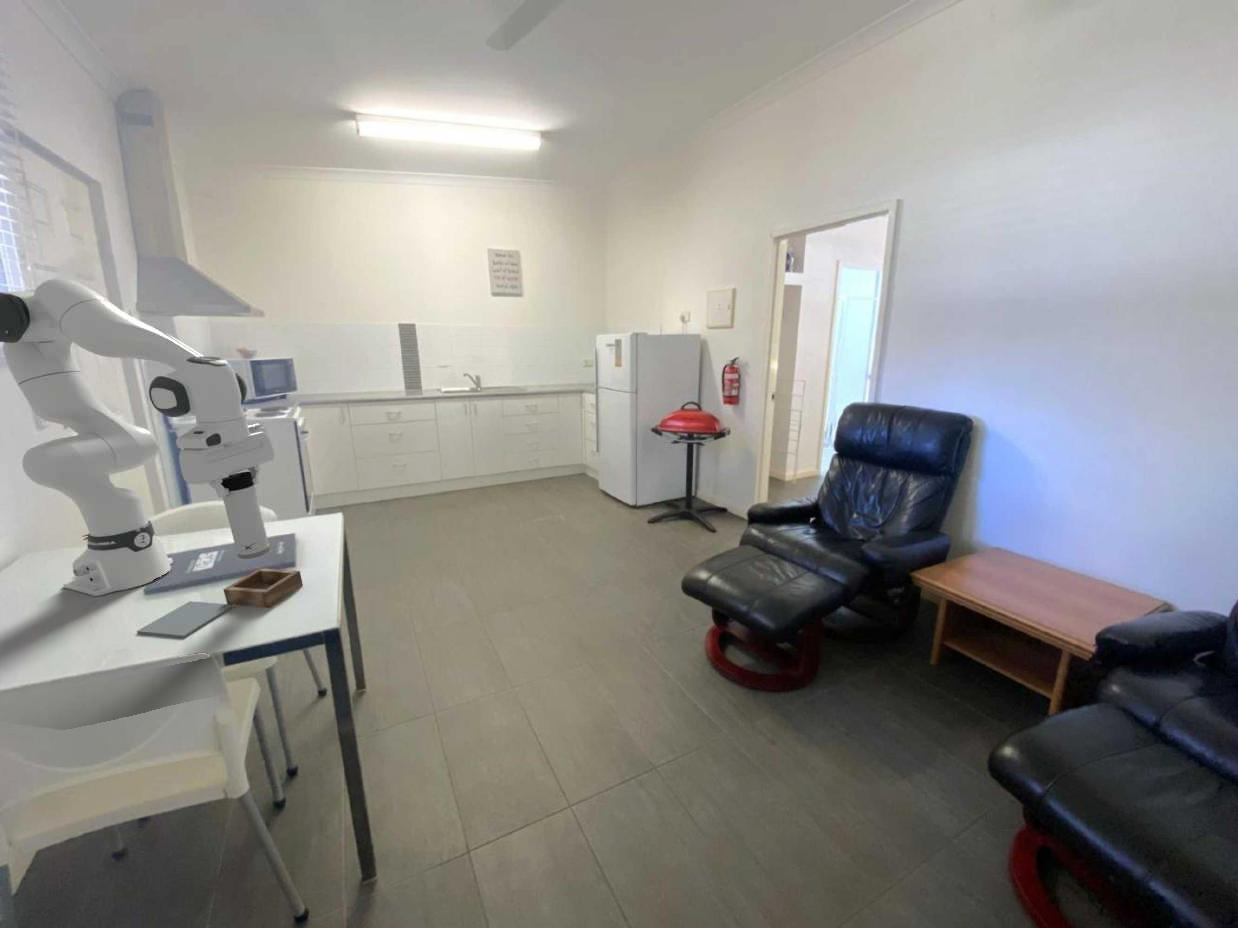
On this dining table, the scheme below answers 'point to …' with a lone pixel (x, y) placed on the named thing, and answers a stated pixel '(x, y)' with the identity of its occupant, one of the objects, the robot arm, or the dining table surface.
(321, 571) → the dining table surface
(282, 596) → the walnut tray
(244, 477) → the travel mug
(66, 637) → the dining table surface
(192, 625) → the slate mat
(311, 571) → the dining table surface
